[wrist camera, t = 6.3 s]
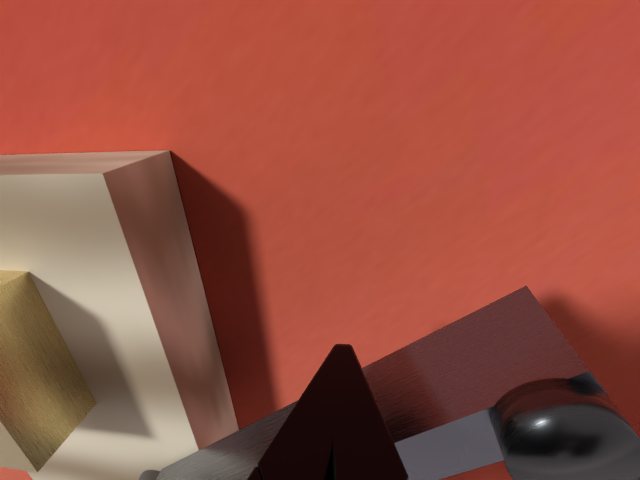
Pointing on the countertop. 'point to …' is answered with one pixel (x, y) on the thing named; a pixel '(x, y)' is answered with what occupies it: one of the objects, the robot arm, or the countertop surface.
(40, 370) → the tan wooden block
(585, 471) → the latch lever
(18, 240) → the cream rectangular block
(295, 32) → the countertop surface
